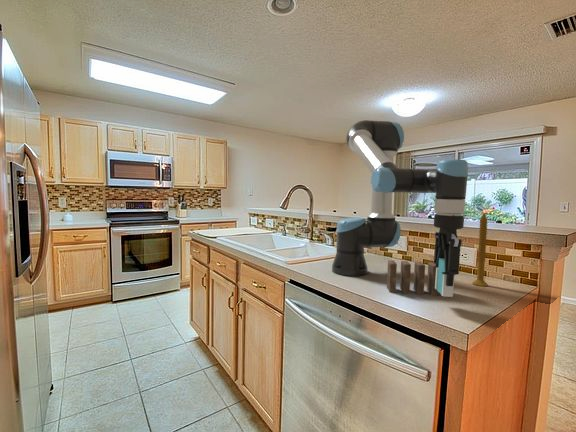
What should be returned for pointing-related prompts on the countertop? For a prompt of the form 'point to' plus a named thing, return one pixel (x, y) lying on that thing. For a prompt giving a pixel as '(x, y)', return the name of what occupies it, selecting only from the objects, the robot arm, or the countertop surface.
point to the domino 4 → (431, 279)
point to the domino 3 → (419, 277)
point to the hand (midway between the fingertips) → (443, 292)
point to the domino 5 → (440, 275)
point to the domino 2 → (405, 277)
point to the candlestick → (481, 251)
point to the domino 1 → (391, 276)
